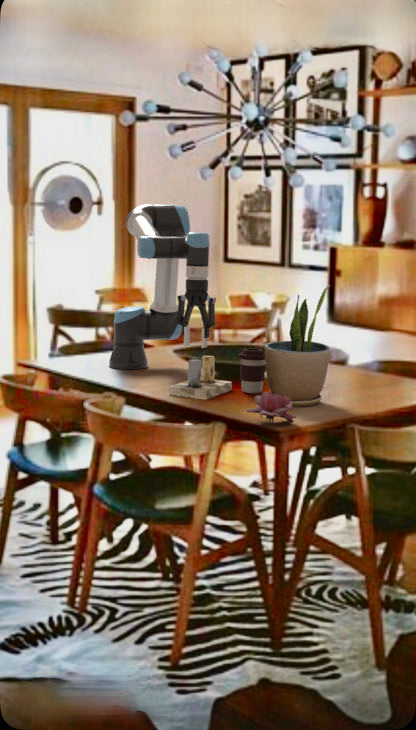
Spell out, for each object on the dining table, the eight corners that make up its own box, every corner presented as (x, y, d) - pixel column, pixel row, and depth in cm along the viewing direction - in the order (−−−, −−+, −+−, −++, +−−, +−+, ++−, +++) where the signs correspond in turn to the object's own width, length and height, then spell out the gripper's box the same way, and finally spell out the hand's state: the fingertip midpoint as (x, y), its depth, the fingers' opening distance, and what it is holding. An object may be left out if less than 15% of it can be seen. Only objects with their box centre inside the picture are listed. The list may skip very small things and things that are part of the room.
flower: (276, 422, 296) (279, 388, 297) (237, 420, 306) (241, 388, 307) (305, 429, 307) (309, 397, 308) (268, 427, 317) (271, 396, 318)
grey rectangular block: (185, 395, 346) (186, 360, 344) (191, 393, 350) (192, 359, 348) (196, 396, 345) (197, 362, 342) (202, 394, 348) (203, 360, 346)
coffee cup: (233, 389, 359) (234, 347, 356) (258, 388, 362) (259, 346, 360) (245, 395, 350) (246, 352, 347) (270, 393, 354) (272, 351, 351)
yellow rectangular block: (204, 388, 359) (205, 355, 357) (215, 389, 357) (216, 356, 355) (199, 390, 355) (199, 356, 353) (210, 391, 353) (211, 358, 351)
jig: (196, 385, 364) (196, 377, 363) (231, 390, 357) (231, 381, 357) (169, 394, 346) (169, 386, 346) (205, 399, 340) (205, 390, 339)
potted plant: (281, 411, 325) (286, 287, 318) (252, 398, 345) (256, 280, 338) (338, 407, 334) (344, 286, 327) (306, 394, 353) (311, 280, 346)
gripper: (166, 277, 342) (165, 345, 345) (217, 281, 333) (215, 350, 337) (177, 276, 348) (176, 342, 352) (227, 279, 340) (225, 347, 344)
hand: (195, 346), depth 345 cm, fingers open, 6 cm apart
